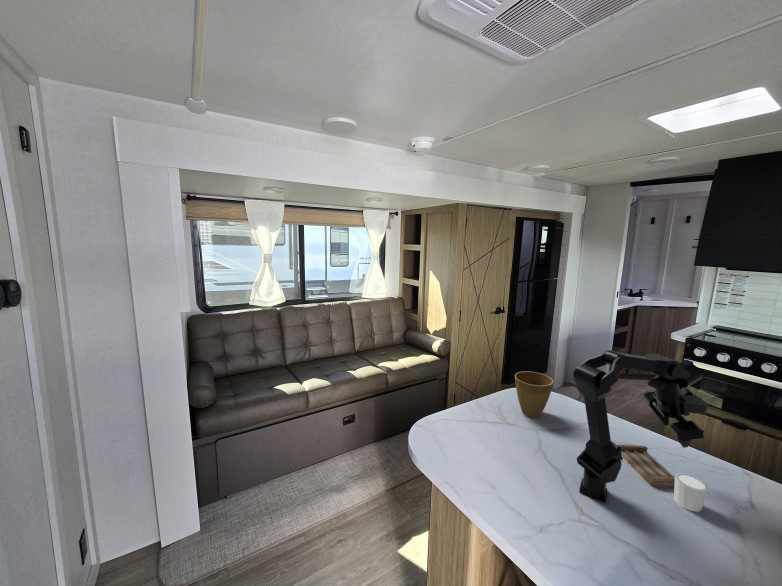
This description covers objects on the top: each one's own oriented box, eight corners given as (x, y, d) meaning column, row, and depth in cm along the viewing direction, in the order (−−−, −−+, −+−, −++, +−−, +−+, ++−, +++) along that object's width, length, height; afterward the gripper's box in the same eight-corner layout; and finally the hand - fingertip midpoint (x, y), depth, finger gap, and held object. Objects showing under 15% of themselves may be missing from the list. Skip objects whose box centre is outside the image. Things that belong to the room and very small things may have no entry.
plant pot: (537, 404, 143) (541, 370, 140) (557, 422, 128) (561, 385, 126) (506, 404, 142) (509, 371, 139) (522, 422, 127) (525, 385, 125)
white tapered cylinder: (687, 494, 91) (691, 472, 90) (711, 514, 85) (716, 491, 84) (664, 494, 91) (668, 472, 90) (687, 514, 84) (691, 491, 83)
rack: (682, 488, 94) (684, 479, 93) (650, 486, 94) (652, 477, 94) (644, 453, 109) (645, 446, 109) (617, 451, 110) (618, 444, 110)
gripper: (725, 410, 82) (731, 456, 86) (679, 371, 99) (686, 411, 103) (675, 417, 86) (683, 461, 89) (639, 378, 103) (647, 416, 106)
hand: (675, 435), depth 97 cm, fingers open, 9 cm apart
